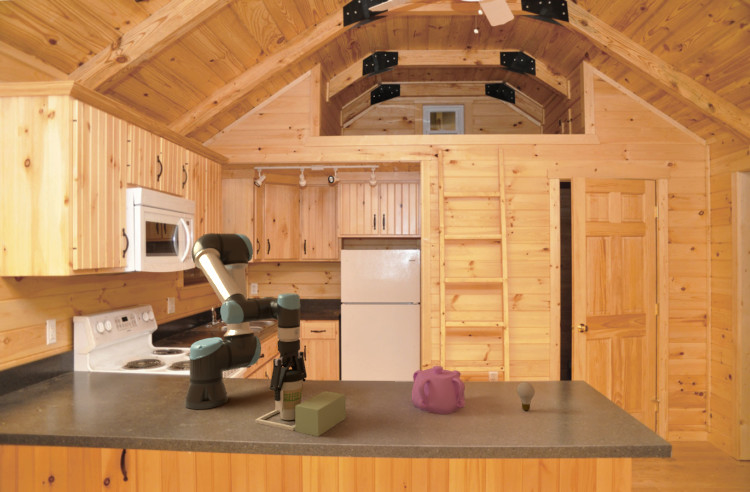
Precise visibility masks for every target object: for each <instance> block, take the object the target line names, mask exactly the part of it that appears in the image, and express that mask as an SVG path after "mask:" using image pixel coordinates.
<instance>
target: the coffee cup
mask: <svg viewBox="0 0 750 492" xmlns="http://www.w3.org/2000/svg"><path fill="white" fill-rule="evenodd" d="M303 379H305V378H304V375H303V373H302V371H301V370H292V368H289V370H288V371H287V373H286V376H285V377H284V383H283V386H282V390H283V411H280V412H279V413H280V419H282V420H283V421H291V420H295V406H296V405H298V404H300V403H302V401H301V397H302V398H303V389H304V388H303V386H304V384H303V385H302V383H304V382H303ZM278 387H279V386H278ZM302 388H303V389H302Z"/></svg>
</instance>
